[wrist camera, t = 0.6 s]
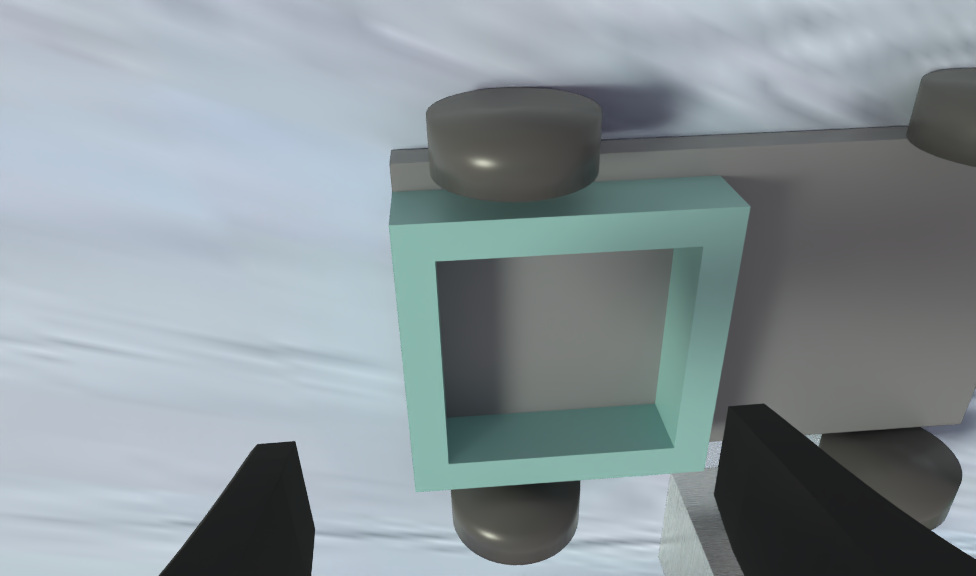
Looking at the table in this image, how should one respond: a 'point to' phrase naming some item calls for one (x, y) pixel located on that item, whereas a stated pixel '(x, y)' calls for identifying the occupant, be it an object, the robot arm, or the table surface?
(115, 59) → the table surface
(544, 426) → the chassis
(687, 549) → the block
